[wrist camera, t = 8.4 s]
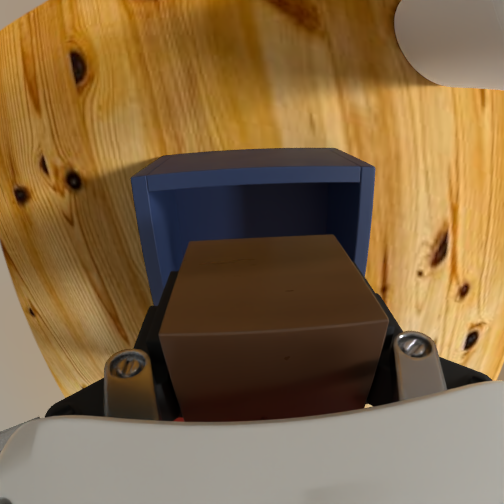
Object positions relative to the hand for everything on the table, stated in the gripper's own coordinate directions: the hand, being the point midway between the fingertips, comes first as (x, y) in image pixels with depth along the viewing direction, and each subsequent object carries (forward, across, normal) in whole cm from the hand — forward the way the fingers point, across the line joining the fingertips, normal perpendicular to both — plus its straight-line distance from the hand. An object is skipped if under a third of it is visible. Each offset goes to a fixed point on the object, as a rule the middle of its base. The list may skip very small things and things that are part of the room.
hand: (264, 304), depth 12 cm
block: (0, 0, 0) cm, 0 cm away
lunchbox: (+12, 0, +4) cm, 12 cm away
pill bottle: (+12, -14, -13) cm, 23 cm away
